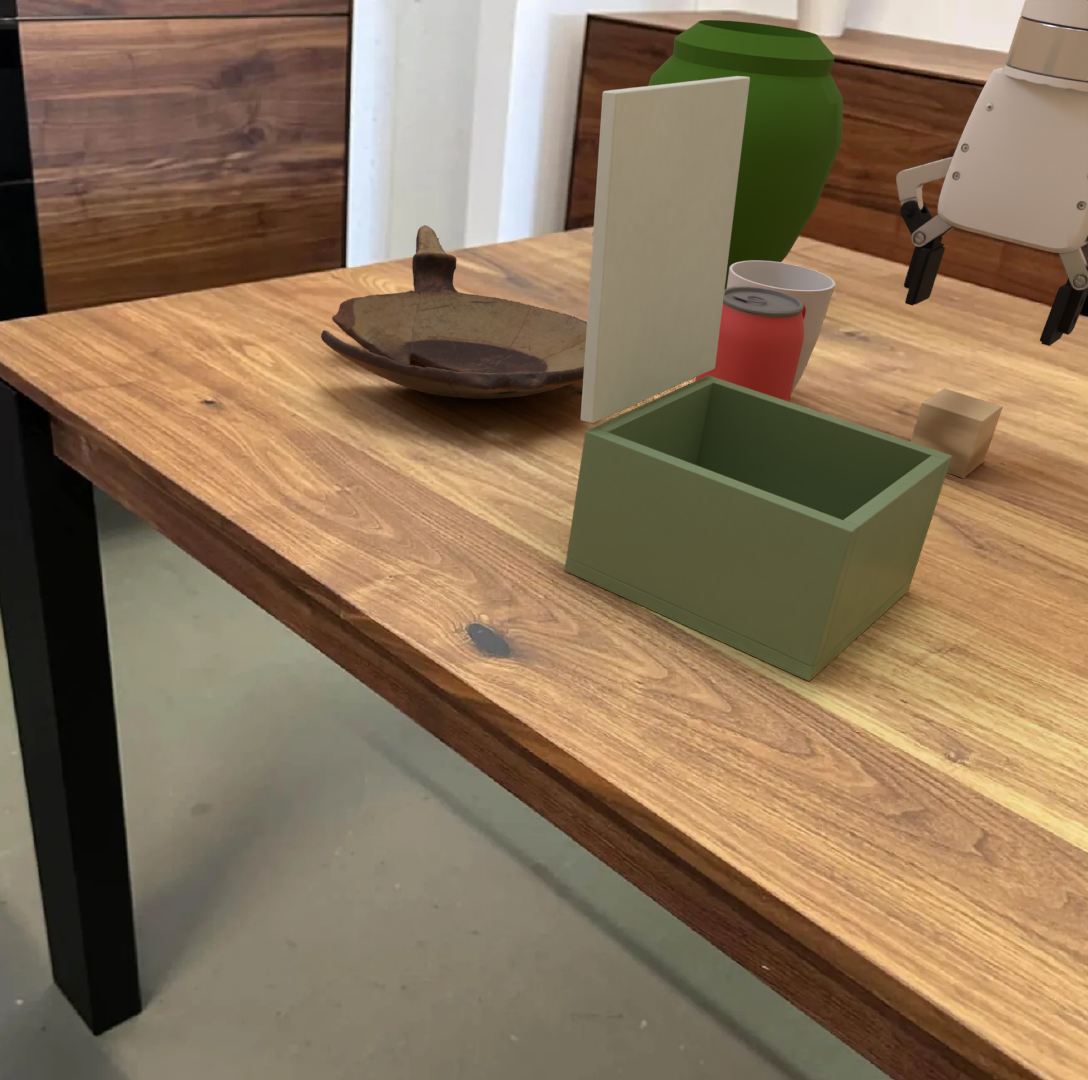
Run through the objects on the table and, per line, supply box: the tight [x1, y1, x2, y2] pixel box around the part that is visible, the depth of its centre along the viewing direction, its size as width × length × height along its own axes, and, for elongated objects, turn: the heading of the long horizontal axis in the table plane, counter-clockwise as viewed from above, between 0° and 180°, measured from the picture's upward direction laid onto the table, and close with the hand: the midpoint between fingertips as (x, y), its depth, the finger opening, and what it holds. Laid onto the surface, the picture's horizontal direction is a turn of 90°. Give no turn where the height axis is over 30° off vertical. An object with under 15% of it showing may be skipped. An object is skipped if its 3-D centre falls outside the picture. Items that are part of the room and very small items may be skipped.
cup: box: [727, 261, 836, 394], centre depth 97 cm, size 8×8×10 cm
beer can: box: [694, 286, 804, 402], centre depth 84 cm, size 7×7×12 cm
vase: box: [647, 19, 844, 290], centre depth 118 cm, size 20×20×24 cm
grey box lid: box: [580, 76, 750, 424], centre depth 67 cm, size 17×14×1 cm
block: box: [909, 388, 1004, 479], centre depth 90 cm, size 4×4×4 cm
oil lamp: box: [320, 224, 587, 400], centre depth 96 cm, size 22×30×8 cm
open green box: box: [564, 375, 952, 682], centre depth 70 cm, size 16×14×9 cm
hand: (981, 320), depth 86 cm, fingers open, 9 cm apart
